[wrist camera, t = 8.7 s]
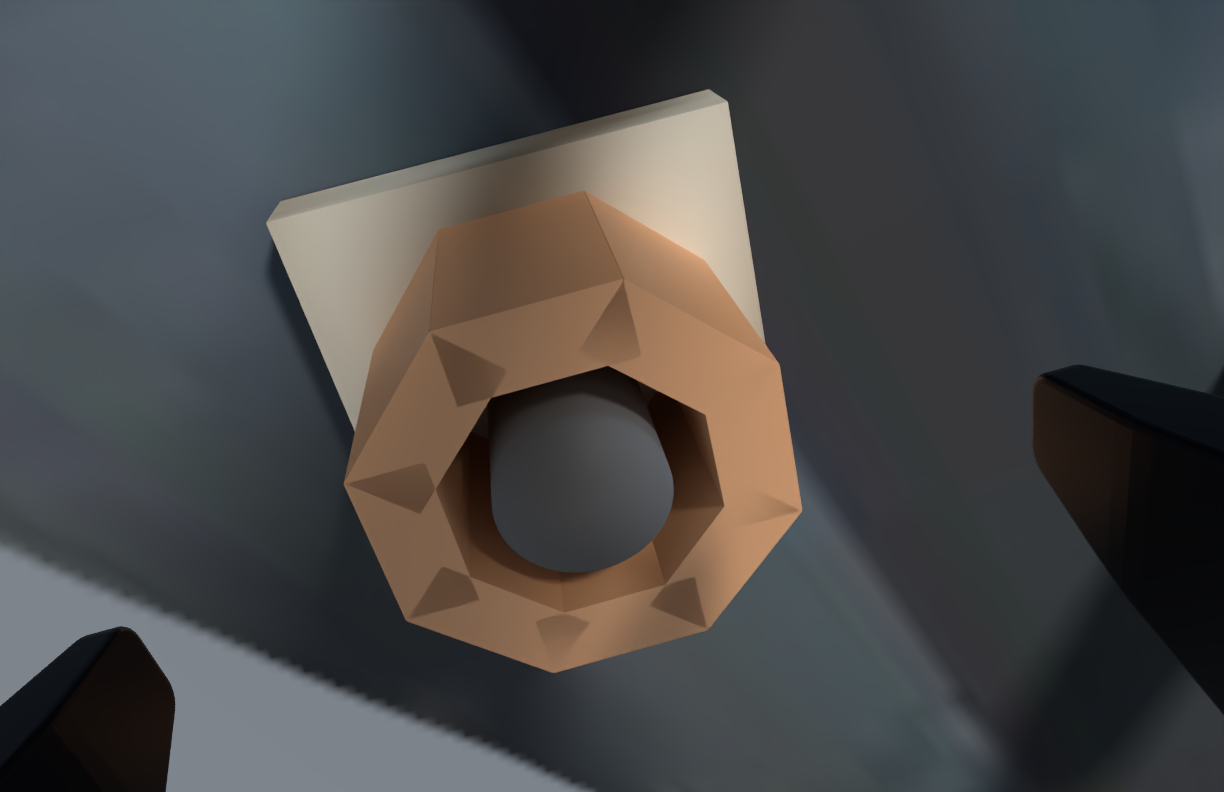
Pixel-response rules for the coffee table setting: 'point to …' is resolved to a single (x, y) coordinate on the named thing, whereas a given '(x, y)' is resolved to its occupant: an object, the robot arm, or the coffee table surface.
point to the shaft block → (561, 409)
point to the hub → (543, 352)
